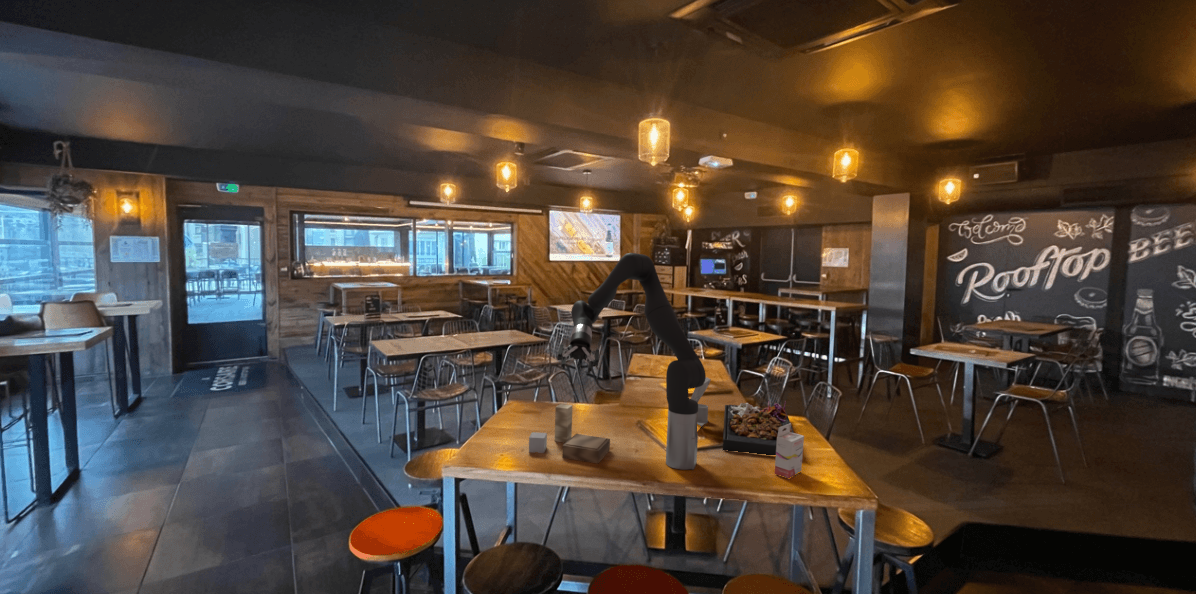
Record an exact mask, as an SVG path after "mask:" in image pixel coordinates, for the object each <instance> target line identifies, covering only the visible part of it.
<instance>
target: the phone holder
mask: <svg viewBox="0 0 1196 594" xmlns="http://www.w3.org/2000/svg"><path fill="white" fill-rule="evenodd" d="M710 383H711V378H709V377H707V376H706V379H705V382H704V384H703V385H702V386H700V387H697V388H694V390H693V392H692V395H691V397H690V399H692V400H695V401H696V402H697V403H698V423H697V424H698V425H700V426H701V427H702V426H703V425H704V424H705V425H706V424H708V422H709V418H708V417H709V406H708V405H707V404H702V403H699V401H700V400H701V399H702V396H703V395H704V393H705V392H706V390H707V388H708V387H709V385H710ZM705 425H704V426H705ZM704 426H703V427H704ZM703 427H702V428H703Z"/></svg>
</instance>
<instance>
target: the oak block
mask: <svg viewBox="0 0 1196 594" xmlns="http://www.w3.org/2000/svg"><path fill="white" fill-rule="evenodd" d="M554 413H555V415H554V417H555V418H554V419H555V420H554V442H558V443H559V442H560V443H564V442H565V443H566V442H567V441H568V440H569V439H571V438H572V437H573V436H572V433H573V429H572V428H573V405H572V404H565V403H560V404H558V405H556V406H555V412H554ZM565 443H564V444H565Z"/></svg>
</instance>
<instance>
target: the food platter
mask: <svg viewBox="0 0 1196 594" xmlns="http://www.w3.org/2000/svg"><path fill="white" fill-rule="evenodd" d="M786 403H787V400H784V406H783V407H782V406H781V405H780V404H779V403H777V402H775V403H774V404H773V406H771V405H770V401H768V402H767V407H759V406H753V405H752V404H749V402H746V403H745V402H740V404H739V405H736V404H725V405H724V415H723V416H724V417H723V433H722V434H723V435H722V438H723V439H722V451H723V450H728V451H727V452H729V451H738V452H749V453H757V454H766V455H776V445H777V436H778V430H779V427H782V426H784V425H787V424H789V423H791V420H790V418H789V415H788V413H787V411H786ZM785 430H786V428H784V429H783V430H782V431H785ZM790 432H791V433H795V431H794V429H793V426H792V425H791V427H790Z"/></svg>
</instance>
